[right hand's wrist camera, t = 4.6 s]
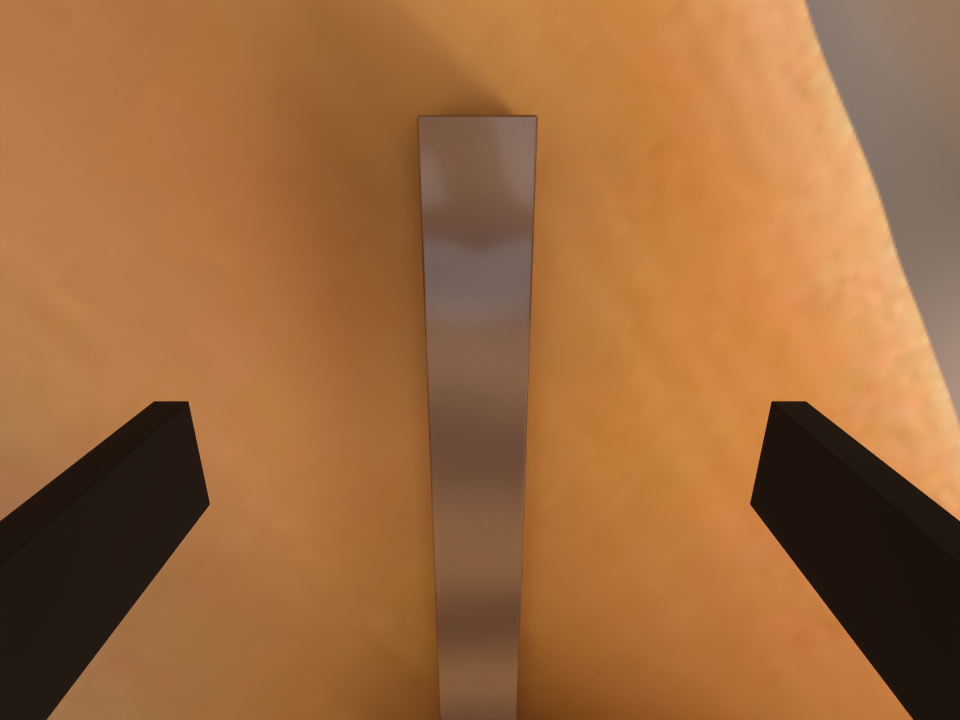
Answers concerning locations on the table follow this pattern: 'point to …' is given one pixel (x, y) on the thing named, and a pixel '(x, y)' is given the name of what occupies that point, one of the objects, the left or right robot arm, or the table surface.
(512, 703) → the bar
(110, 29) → the table surface
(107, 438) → the right robot arm
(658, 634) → the table surface
